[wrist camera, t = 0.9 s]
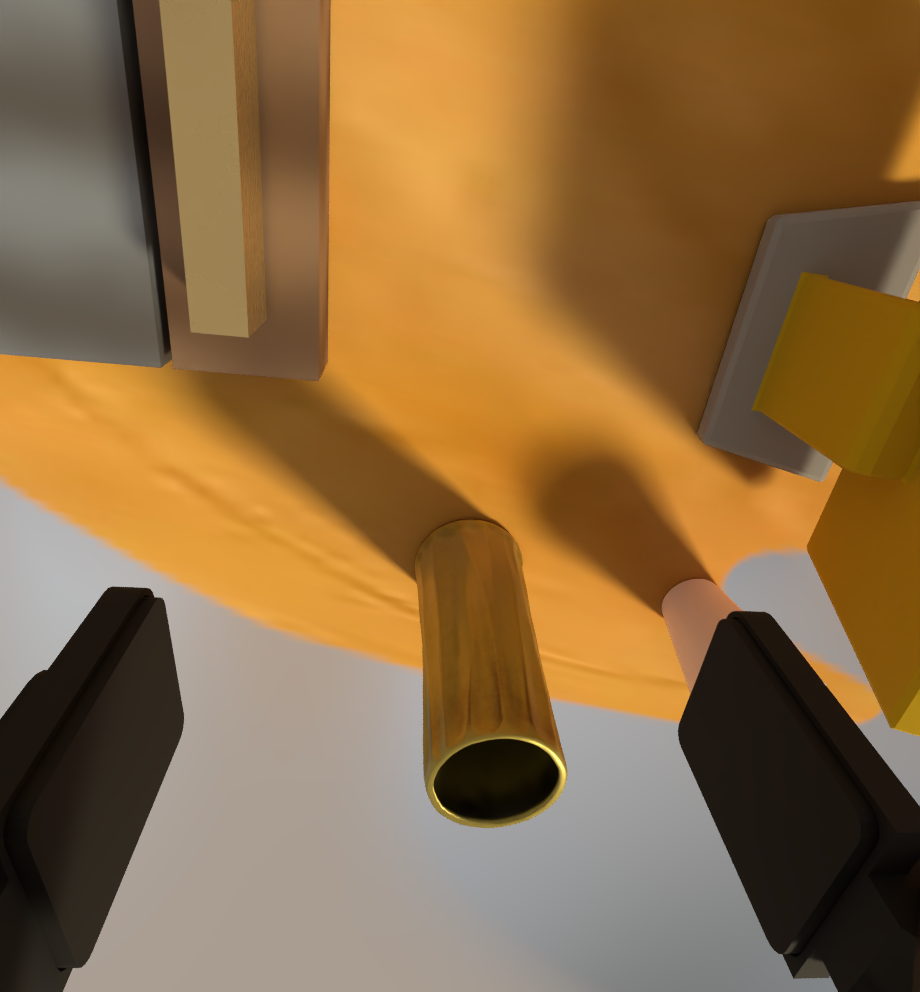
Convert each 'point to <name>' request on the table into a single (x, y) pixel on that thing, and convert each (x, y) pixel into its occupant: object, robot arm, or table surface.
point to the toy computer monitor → (840, 415)
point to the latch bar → (217, 160)
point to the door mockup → (150, 190)
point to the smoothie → (694, 621)
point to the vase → (483, 682)
